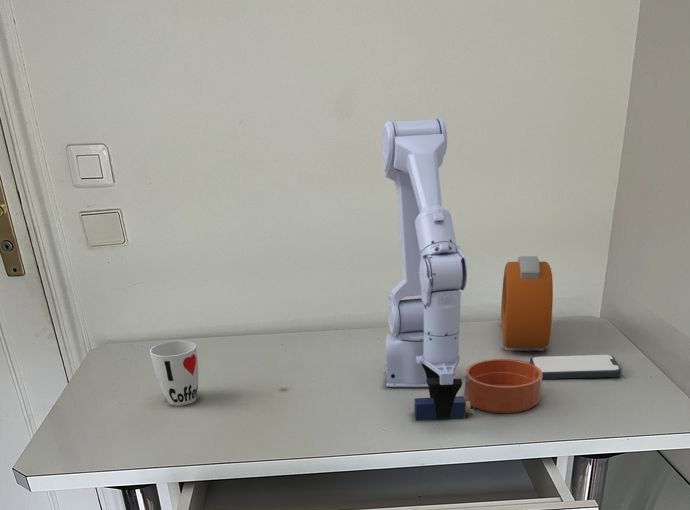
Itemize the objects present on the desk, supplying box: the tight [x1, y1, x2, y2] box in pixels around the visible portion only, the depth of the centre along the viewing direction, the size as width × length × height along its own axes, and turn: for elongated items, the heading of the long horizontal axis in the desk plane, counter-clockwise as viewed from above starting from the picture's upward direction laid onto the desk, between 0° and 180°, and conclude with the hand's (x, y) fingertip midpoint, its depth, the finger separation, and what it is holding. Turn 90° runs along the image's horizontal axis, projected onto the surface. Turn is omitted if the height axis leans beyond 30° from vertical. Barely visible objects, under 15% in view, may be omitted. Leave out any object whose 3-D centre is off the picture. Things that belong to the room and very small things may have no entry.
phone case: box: [529, 354, 622, 380], centre depth 139 cm, size 9×2×16 cm
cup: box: [149, 340, 199, 407], centre depth 132 cm, size 8×8×10 cm
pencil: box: [413, 395, 475, 421], centre depth 124 cm, size 10×3×3 cm, turn 92°
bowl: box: [464, 358, 543, 414], centre depth 129 cm, size 13×13×5 cm
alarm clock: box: [500, 255, 554, 352], centre depth 152 cm, size 23×9×17 cm, turn 172°
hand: (439, 408), depth 124 cm, fingers open, 7 cm apart
